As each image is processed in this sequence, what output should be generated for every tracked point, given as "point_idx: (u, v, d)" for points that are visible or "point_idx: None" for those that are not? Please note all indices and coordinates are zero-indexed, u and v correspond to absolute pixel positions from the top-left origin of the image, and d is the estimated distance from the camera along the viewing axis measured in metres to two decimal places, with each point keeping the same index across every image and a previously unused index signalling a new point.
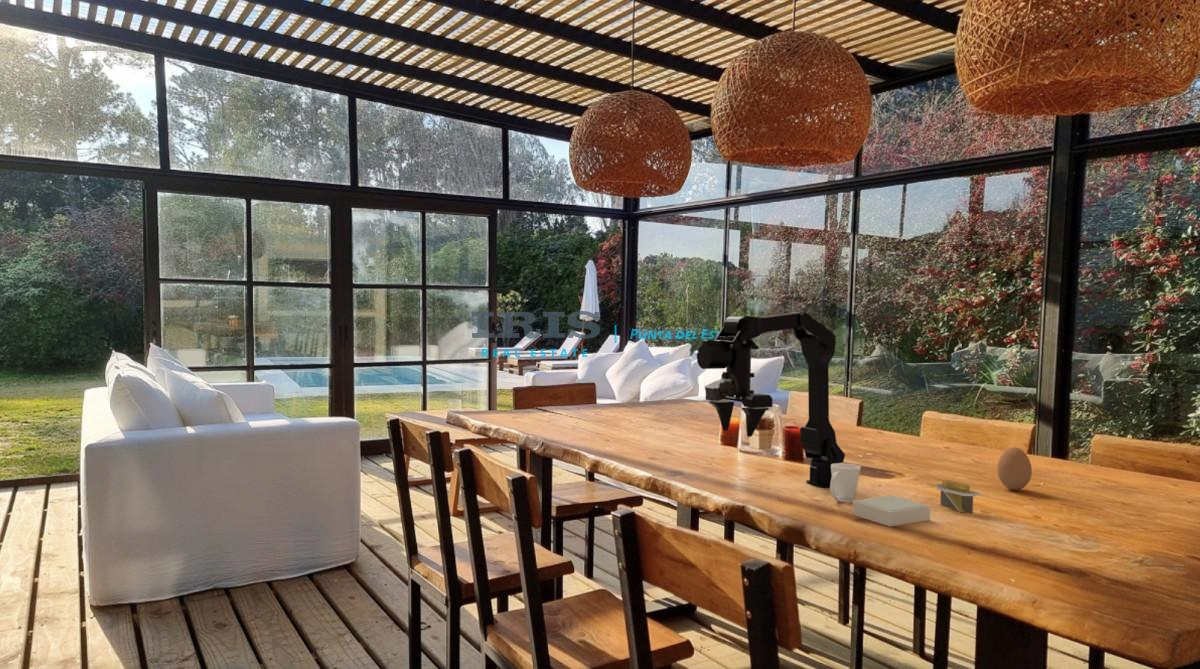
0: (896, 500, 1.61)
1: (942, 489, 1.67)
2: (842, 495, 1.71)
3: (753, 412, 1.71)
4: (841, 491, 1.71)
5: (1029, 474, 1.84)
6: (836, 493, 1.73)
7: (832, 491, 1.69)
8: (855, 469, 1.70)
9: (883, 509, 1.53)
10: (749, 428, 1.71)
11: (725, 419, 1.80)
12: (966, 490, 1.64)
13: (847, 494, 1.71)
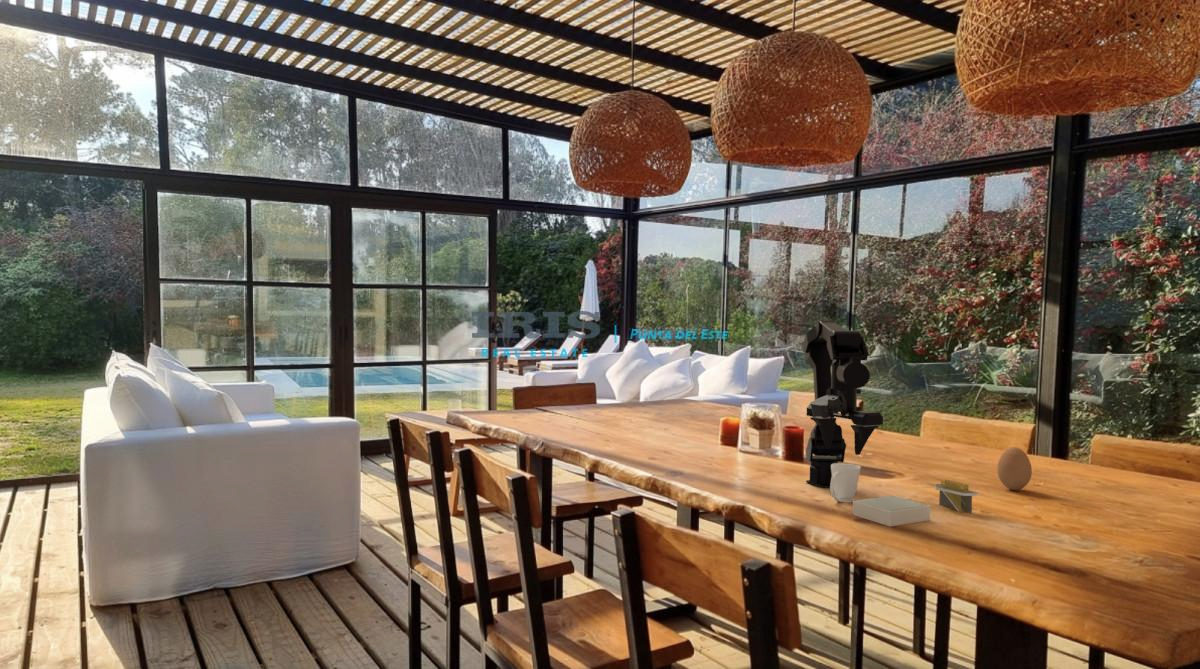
0: (896, 500, 1.61)
1: (941, 489, 1.67)
2: (842, 495, 1.71)
3: (862, 430, 1.67)
4: (841, 491, 1.71)
5: (1029, 474, 1.84)
6: (836, 493, 1.73)
7: (832, 491, 1.69)
8: (855, 469, 1.70)
9: (883, 509, 1.53)
10: (858, 446, 1.67)
11: (828, 436, 1.76)
12: (965, 490, 1.64)
13: (847, 494, 1.71)
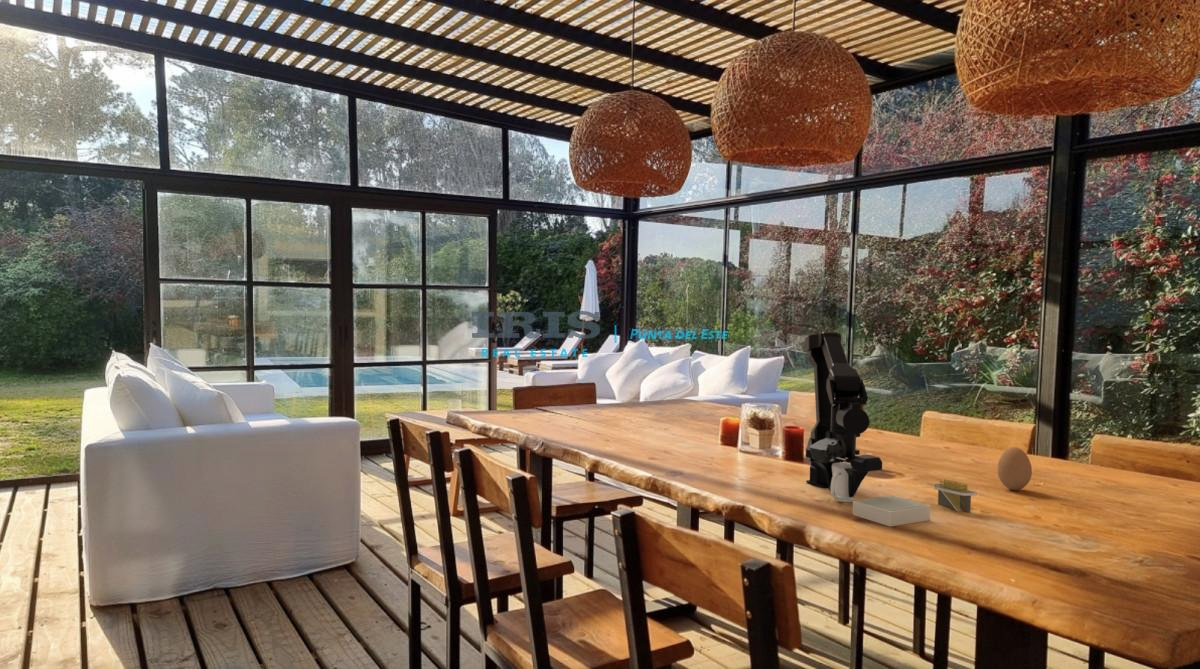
0: (896, 500, 1.61)
1: (940, 489, 1.67)
2: (842, 495, 1.71)
3: (856, 473, 1.69)
4: (841, 491, 1.71)
5: (1029, 474, 1.84)
6: (836, 493, 1.73)
7: (832, 491, 1.69)
8: None
9: (883, 509, 1.53)
10: (851, 489, 1.69)
11: None
12: (964, 490, 1.64)
13: (847, 494, 1.71)
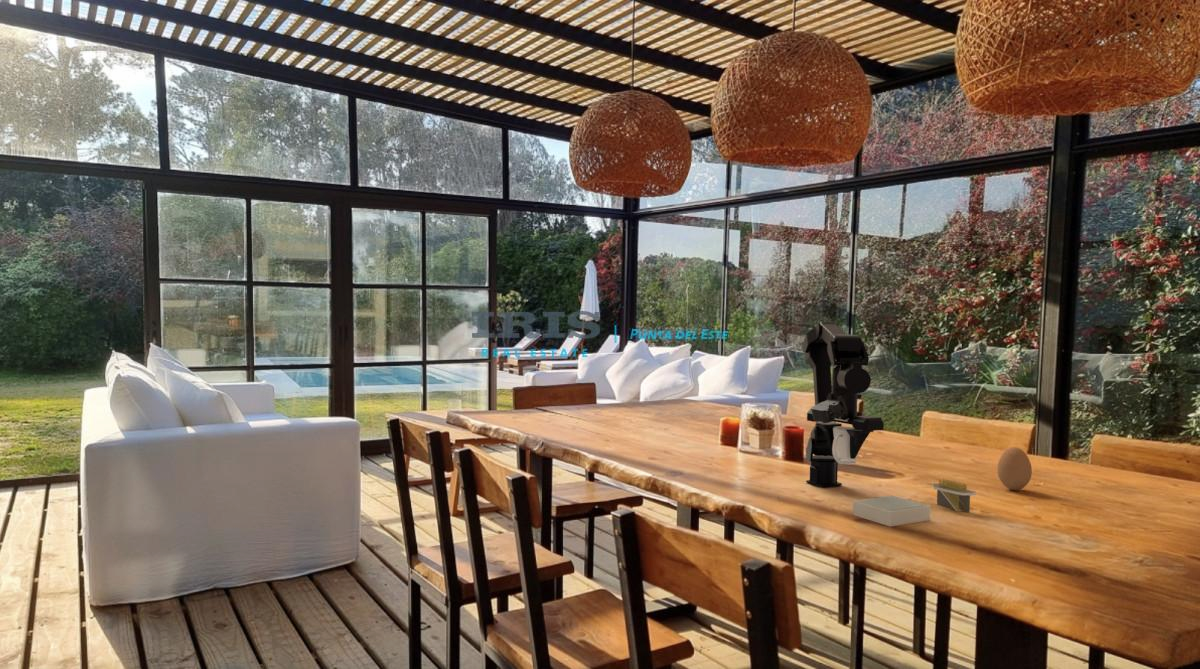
0: (896, 500, 1.61)
1: (939, 488, 1.67)
2: (844, 457, 1.71)
3: (857, 434, 1.68)
4: (843, 453, 1.71)
5: (1029, 474, 1.84)
6: (838, 455, 1.72)
7: (834, 453, 1.68)
8: None
9: (883, 509, 1.53)
10: (853, 450, 1.68)
11: None
12: (963, 489, 1.64)
13: (849, 456, 1.70)
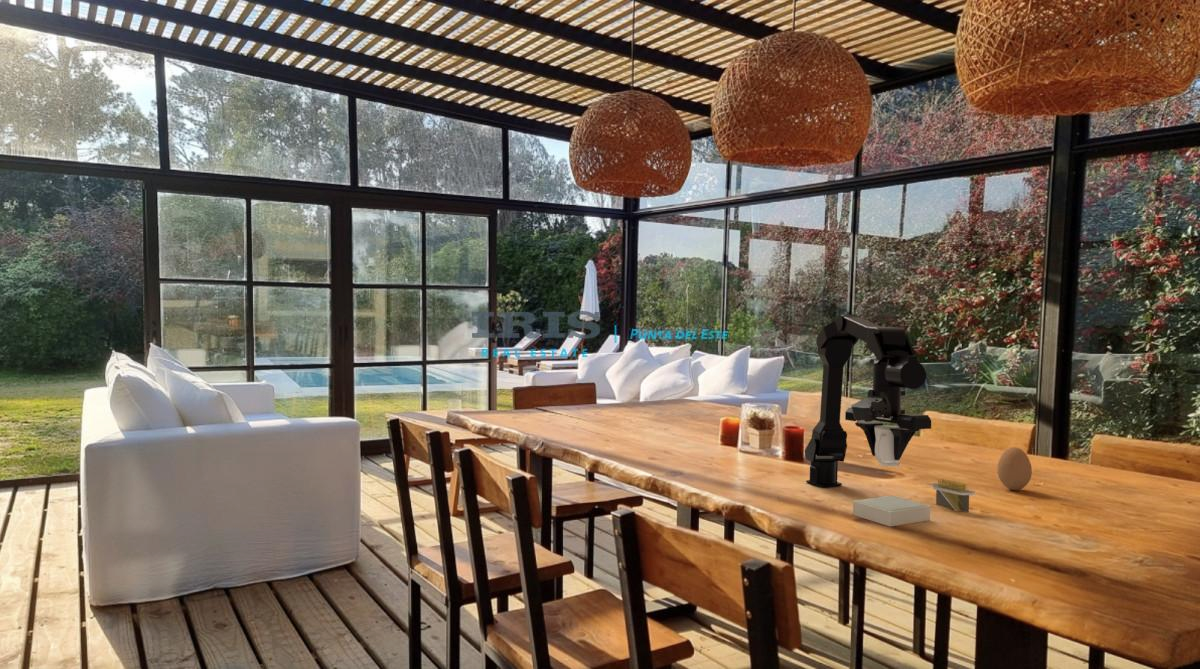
0: (896, 500, 1.61)
1: (938, 488, 1.67)
2: (887, 459, 1.59)
3: (902, 433, 1.56)
4: (886, 454, 1.58)
5: (1029, 474, 1.84)
6: (880, 457, 1.60)
7: (877, 453, 1.56)
8: None
9: (883, 509, 1.53)
10: (897, 451, 1.56)
11: (875, 442, 1.62)
12: (962, 489, 1.64)
13: (893, 457, 1.58)
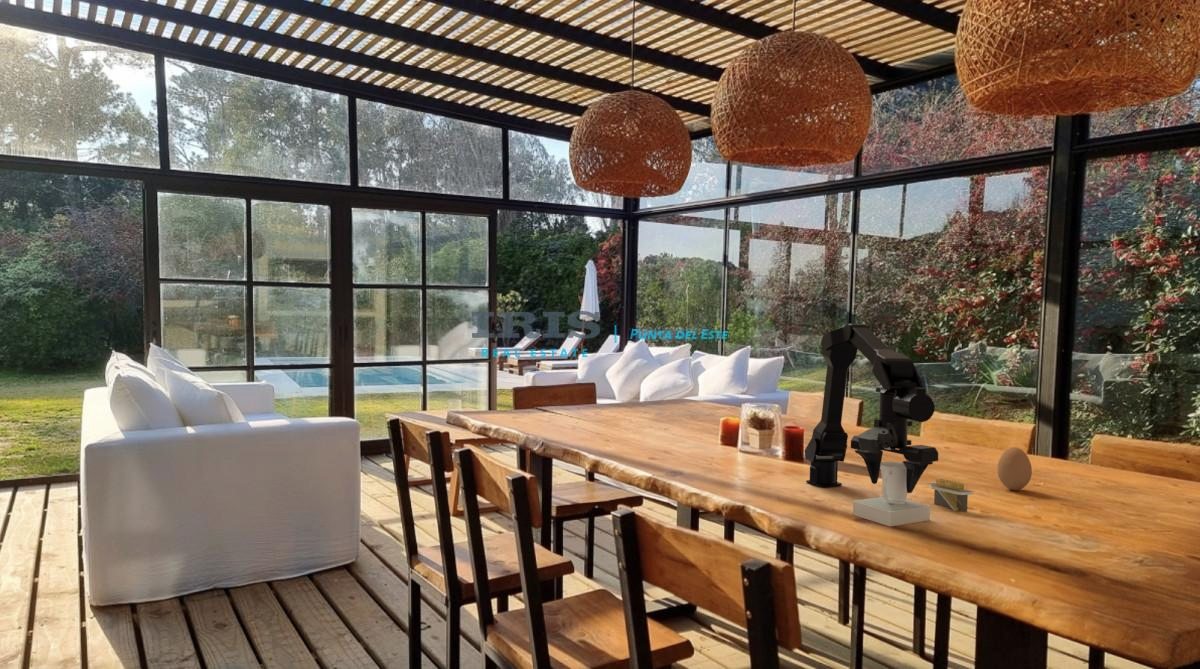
0: None
1: (937, 488, 1.68)
2: (893, 496, 1.57)
3: (915, 466, 1.53)
4: (892, 492, 1.57)
5: (1029, 474, 1.84)
6: (886, 494, 1.59)
7: (884, 492, 1.55)
8: None
9: (883, 509, 1.53)
10: (910, 484, 1.53)
11: (874, 470, 1.62)
12: (961, 489, 1.65)
13: (899, 495, 1.57)
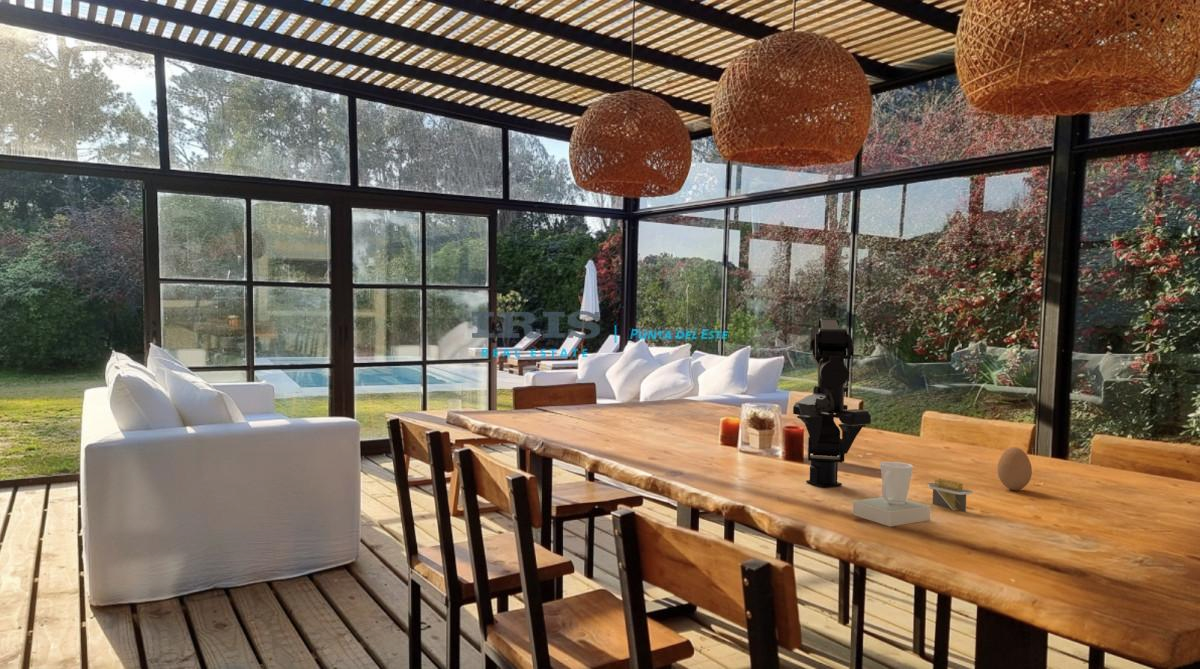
0: None
1: (935, 488, 1.68)
2: (893, 496, 1.57)
3: (849, 428, 1.66)
4: (892, 492, 1.57)
5: (1029, 474, 1.84)
6: (886, 494, 1.59)
7: (884, 492, 1.55)
8: (908, 468, 1.56)
9: (883, 509, 1.53)
10: (845, 445, 1.66)
11: (814, 434, 1.75)
12: (959, 488, 1.65)
13: (899, 495, 1.57)
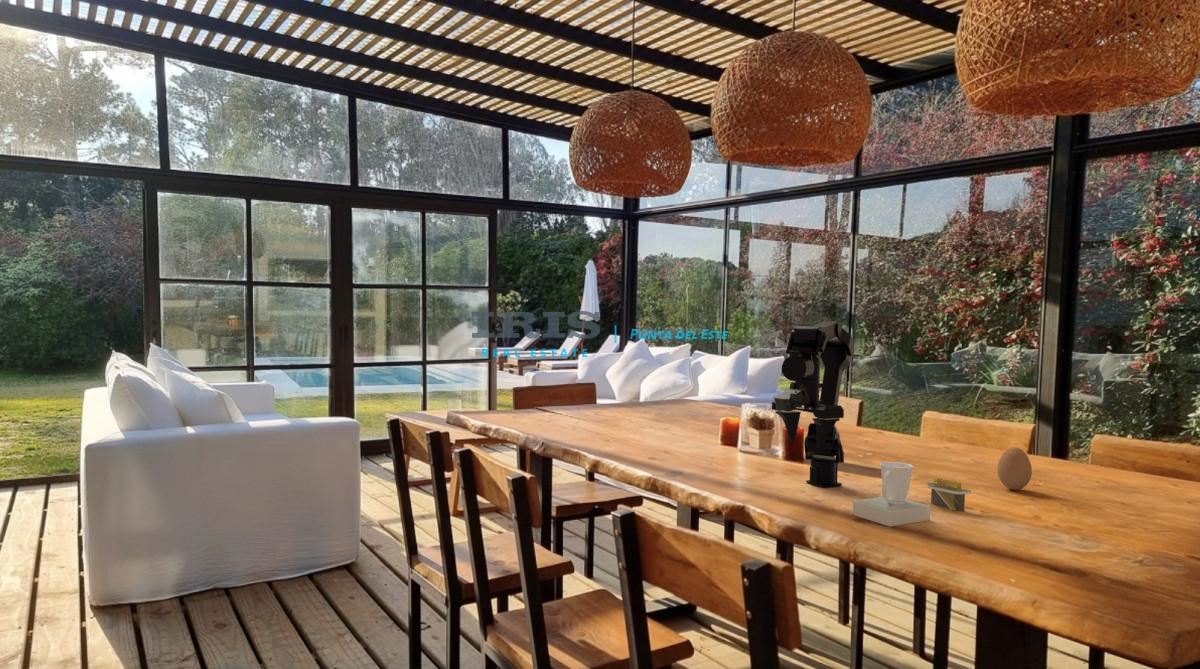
0: None
1: (934, 488, 1.68)
2: (893, 496, 1.57)
3: (824, 423, 1.71)
4: (892, 492, 1.57)
5: (1029, 474, 1.84)
6: (886, 494, 1.59)
7: (884, 492, 1.55)
8: (908, 468, 1.56)
9: (883, 509, 1.53)
10: (820, 439, 1.71)
11: (792, 429, 1.80)
12: (958, 488, 1.65)
13: (899, 495, 1.57)
